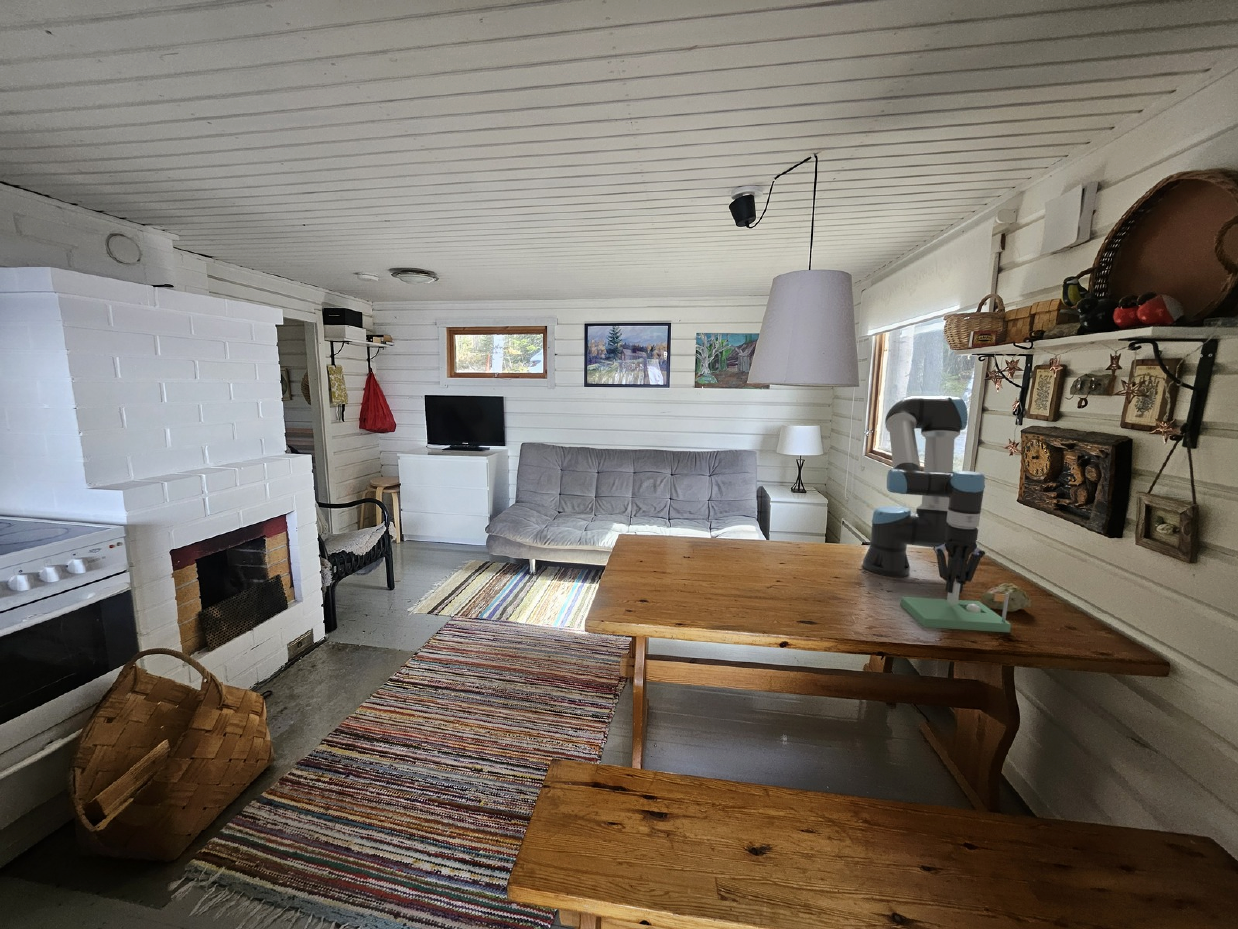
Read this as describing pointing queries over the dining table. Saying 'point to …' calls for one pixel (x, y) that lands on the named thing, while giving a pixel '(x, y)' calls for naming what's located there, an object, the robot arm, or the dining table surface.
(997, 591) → the rock
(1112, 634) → the dining table surface
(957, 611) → the green
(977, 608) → the ball
